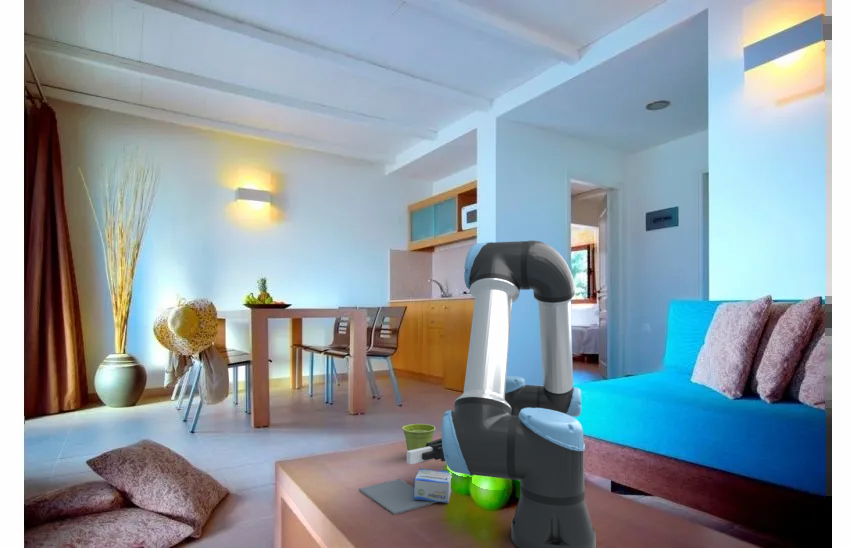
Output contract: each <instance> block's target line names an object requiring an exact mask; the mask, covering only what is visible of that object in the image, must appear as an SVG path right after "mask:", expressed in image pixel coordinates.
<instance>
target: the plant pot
mask: <svg viewBox="0 0 850 548" xmlns="http://www.w3.org/2000/svg"><path fill="white" fill-rule="evenodd" d="M401 429H402V431H403V434H404V437H405V444H406V452H407V451H410V450H414V449H419V448H424V447H426V443H429V442H432V441H433V435H434V432H435V430H436V427H435V426H434V424H433V425H432V424H428V423H427V424H426V423H412V424H406V425H403V426H402V428H401Z"/></svg>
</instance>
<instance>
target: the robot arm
mask: <svg viewBox="0 0 850 548" xmlns="http://www.w3.org/2000/svg"><path fill="white" fill-rule="evenodd" d="M463 277H464V278H463V279H464V284H465V287H466V288H467V289H468V290H469V292H470V295H471V296H472V298H473V299H474V306H473V314H472V319H471V330H470V338H469V347H468V354H467V362H466V369H465V370H466V371H465V378H464V379H465V380H464V385H463V386H464V387H463V393H462V394H461V395H459V396H458V397H457V398H456V399H455V400H454V405H453V406H454V407H453V410H452V409H449V410H446V411H445V412H444V414H443V416H442V420H441V438H438V439H435V440H432V442H429V443H426V447H424V448H419V449H414V450H410V451H407V450H406V463H407V464H408V465H410V466H411V465H414V464H419V463H424V462H428V461H432V460H436V461H438V460H440V461H441V462H445V464H446V465H447V467H448V468H449V470H450V471H452V472H454V473H458V474H464V475H469V477H470V476H471V477H473V476H481V477H489V478H497V479H506V480H514V481H519V482H520V484H519V485H520V492H519V493H520V496H519V498H518V502H517V505H516V509H515V511H514V517H513V518H512V520H511V527H510V528H511V530H510V533H511V540H512V542H513V544H514V545H515V546H516V547H517V548H597V545H596V543H597V542H596V541H597V539H596V537H597V536H596V531H595V528H594V526H593V524H592V521H591V517H590V513H589V511H588V507H587V504H586V496H585V495H586V493H585V492H586V491H585V489H586V488H585V459H584V458H585V457H584V456H585V452H584V451H585V450H586V445H585V442H584V429H583V426H582V424H581V422H580V421H579V420H578V419H577V417H578V418H579V416H581V414H582V390H581V389H580V388H578V387H575V386H574V373H573V371H574V370H573V340H572V339H573V336H572V307H571V306H572V305H571V300H573V299H574V298H575V296H576V295H575V294H576V291H575V289H576V288H575V281H574V276H573V274H572V271H571V269H570V267H569V264H568V263H567V262H566V259H564V257H563V256H562V255H561V254H560V253H559V251H558V250H556V249H555V248H554V247H553V246H551V245H549V244H547V243H545V242H543V241H540V240H526V241H525V240H523V241H521V240H520V241H516V240H515V241H497V242H493V241H486V242H480V243H475V244H473V245H472V246H471V247H470V248H469V250H468V252H467V254H466V258H465V263H464V274H463ZM520 290H521V291H522V290H523V291H524V290H526V291H528V290H532V291H533V298H534V299H535V300H536V301H537V304H538V316H539V335H540V352H541V354H540V355H541V368H542V369H541V370H542V371H541V372H542V384H543V385H531V384H526V380H525V378H524V377H521V376H516V375H514V376H513V375H507V374H508V364H509V363H508V359H509V349H510V334H511V333H510V332H511V322H512V308H513V307H512V305H513V303H514V302H516V301H518V299H519V297H520Z"/></svg>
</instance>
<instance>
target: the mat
mask: <svg viewBox="0 0 850 548" xmlns="http://www.w3.org/2000/svg"><path fill="white" fill-rule="evenodd" d="M359 490H360V492H361V493H362V492H363V493H362V494H364V495H365V496H366V495H367V498H369V497H370V498H369V499H371V500H372V499H373V500H372V501H373V502H375V501H376V502H377V504H378V503H379V504H380V505H379V504H378V505H379V506H381V505H382V506H383V507H382V506H381V507H382V508H384V507H385V508H386V509H385V508H384V509H385V510H387V511H388V510H389V511H390V512H389V511H388V512H389V513H391V514H392V513H393V514H392V515H394V516H396V515H400V514H402V513H406V512H409V511H413V510H416V509H419V508H423V507H426V506H430V505H434V504H436V503H437V502H436V501H427V500H418V499H413V496H414V486H413V485H410V484H409V483H407V482H405V481H404V480H402V479H400V478H396V479H393V480H389V481H384V482H381V483H380V482H379V483H377V484H376V483H375V484H372V485H367V486H364V487H360V488H358V491H359ZM376 502H375V503H376ZM433 503H434V504H433ZM399 513H400V514H399Z"/></svg>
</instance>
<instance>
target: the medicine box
mask: <svg viewBox="0 0 850 548" xmlns="http://www.w3.org/2000/svg"><path fill="white" fill-rule="evenodd" d="M448 471H449V470H440V469H429V468H419V469H418V471H417V474H416V476H415V478H414V480H413V481H414V486H413V487H414V496H413V499H418V500H427V501H436V502H438V503H446V504H449V503H450V498H451V493H452V489H451V478H452V479H453V475H452V476H451V474H450V473H449V472H448Z"/></svg>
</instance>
